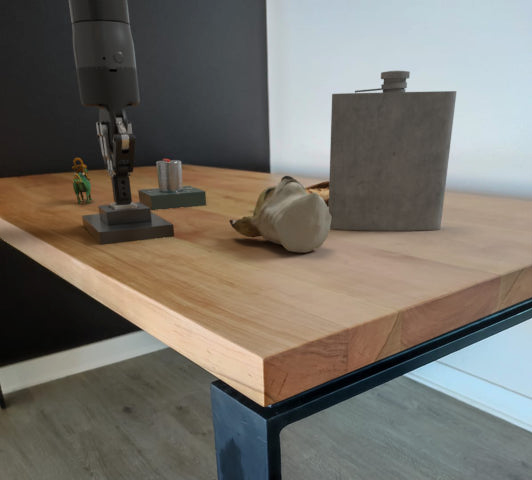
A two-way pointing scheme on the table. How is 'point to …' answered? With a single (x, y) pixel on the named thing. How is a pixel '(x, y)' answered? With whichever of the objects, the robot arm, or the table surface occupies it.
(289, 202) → the ceramic sculpture
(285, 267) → the table surface
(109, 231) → the dark grey stepped block
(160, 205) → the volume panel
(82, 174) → the figurine
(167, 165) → the silver cylinder cluster
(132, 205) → the cream rectangular block
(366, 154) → the hip flask
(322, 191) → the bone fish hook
